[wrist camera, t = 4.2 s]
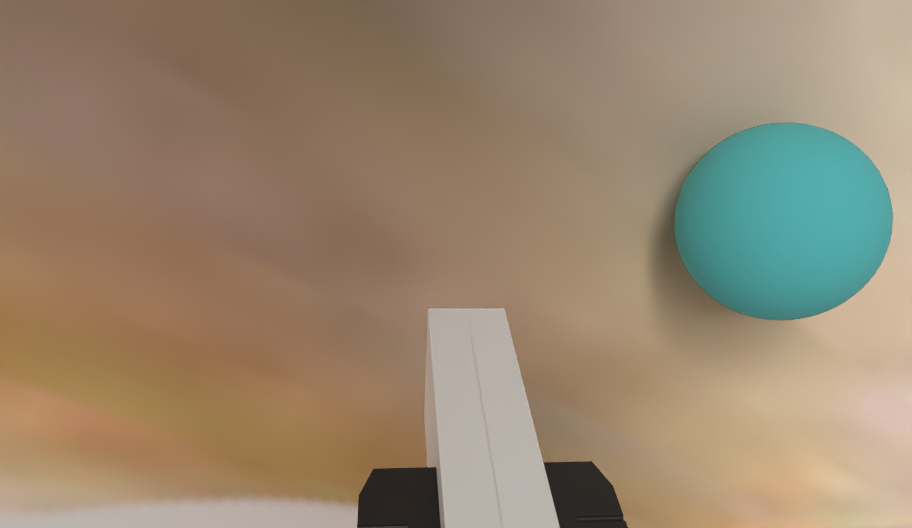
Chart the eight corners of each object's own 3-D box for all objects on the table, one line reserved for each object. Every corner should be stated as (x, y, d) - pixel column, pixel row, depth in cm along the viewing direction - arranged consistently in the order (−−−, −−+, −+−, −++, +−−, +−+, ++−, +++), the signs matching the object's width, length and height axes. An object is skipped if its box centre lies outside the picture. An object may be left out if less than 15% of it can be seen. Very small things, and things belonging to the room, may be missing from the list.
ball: (633, 256, 23) (697, 362, 18) (668, 94, 20) (755, 169, 15) (790, 256, 23) (892, 360, 18) (846, 98, 20) (983, 172, 16)
